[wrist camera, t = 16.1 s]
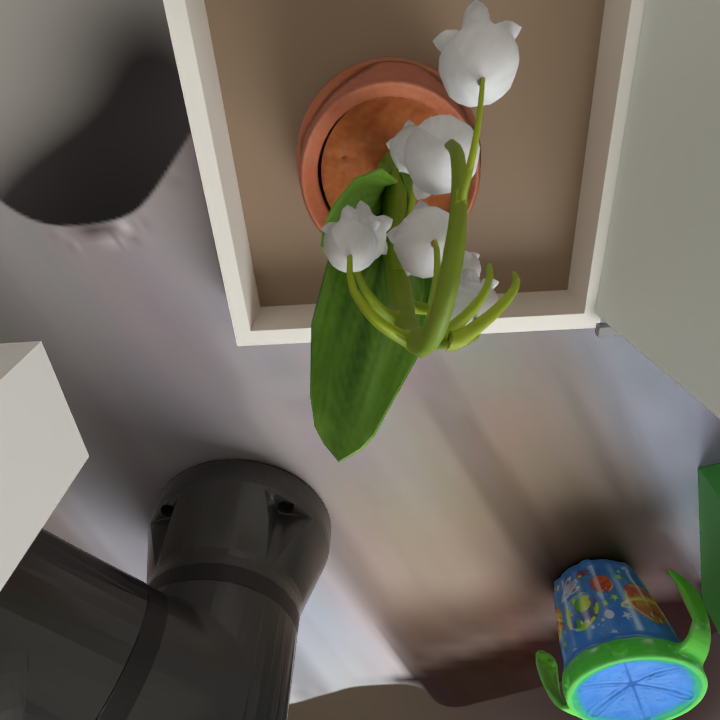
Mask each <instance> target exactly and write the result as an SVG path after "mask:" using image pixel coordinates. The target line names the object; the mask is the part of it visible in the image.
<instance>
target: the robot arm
mask: <svg viewBox="0 0 720 720" xmlns="http://www.w3.org/2000/svg"><path fill="white" fill-rule="evenodd" d="M88 458H89V455H88V452H87V450H86V447H85V445H84V442H83V440H82V438H81V435H80V433H79V430H78V428H77V426H76V423H75V421H74V418H73V416H72V414H71V411H70V409H69V406H68V404H67V402H66V399H65V397H64V394H63V392H62V390H61V387H60V385H59V382H58V380H57V378H56V375H55V373H54V370H53V368H52V365H51V363H50V361H49V358H48V356H47V353H46V351H45V349H44V346H43V344H42V341H34V342H17V343H1V344H0V720H287V715H288V707H289V699H290V691H291V683H292V675H293V667H294V659H295V651H296V643H297V633H298V626H299V619H300V615H301V613H302V611H303V609H304V607H305V605H306V603H307V601H308V599H309V597H310V595H311V593H312V591H313V589H314V587H315V585H316V583H317V581H318V579H319V577H320V575H321V573H322V571H323V569H324V567H325V565H326V562H327V558H328V554H329V547H330V536H331V523H330V518H329V515H328V512H327V510H326V508H325V506H324V504H323V502H322V501H321V499H320V498H319V497H318V496H317V494H316V493H315V492H314V491H313V490H312V489H311V488H310V487H308V486H307V485H306V484H305V483H303V482H302V481H301V480H299V479H298V478H296V477H295V476H293V475H291V474H289V473H287V472H285V471H283V470H281V469H278V468H275V467H273V466H270V465H266V464H262V463H258V462H252V461H245V460H219V461H212V462H207V463H203V464H200V465H197V466H194V467H192V468H189V469H187V470H185V471H183V472H182V473H180V474H179V475H177V476H176V477H175V478H173V479H172V480H171V481H170V482H169V483H168V484H167V486H166V487H165V488H164V490H163V491H162V493H161V495H160V497H159V500H158V502H157V504H156V506H155V508H154V511H153V513H152V516H151V519H150V524H149V531H148V558H147V584H146V583H144V582H143V581H141V580H139V579H137V578H135V577H133V576H131V575H129V574H127V573H125V572H123V571H121V570H120V569H118V568H116V567H114V566H112V565H110V564H108V563H106V562H104V561H102V560H100V559H98V558H96V557H95V556H93V555H91V554H89V553H87V552H85V551H83V550H81V549H79V548H77V547H75V546H74V545H72V544H70V543H68V542H66V541H64V540H63V539H61V538H59V537H57V536H55V535H53V534H52V533H50V532H48V531H46V530H44V529H42V527H43V526H44V524H45V523H46V521H47V520H48V518H49V517H50V515H51V514H52V512H53V511H54V509H55V508H56V506H57V505H58V503H59V502H60V500H61V499H62V497H63V495H64V494H65V492H66V491H67V489H68V488H69V486H70V485H71V483H72V482H73V480H74V479H75V477H76V476H77V474H78V473H79V471H80V470H81V468H82V467H83V465H84V464H85V462H86V461H87V459H88Z"/></svg>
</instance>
